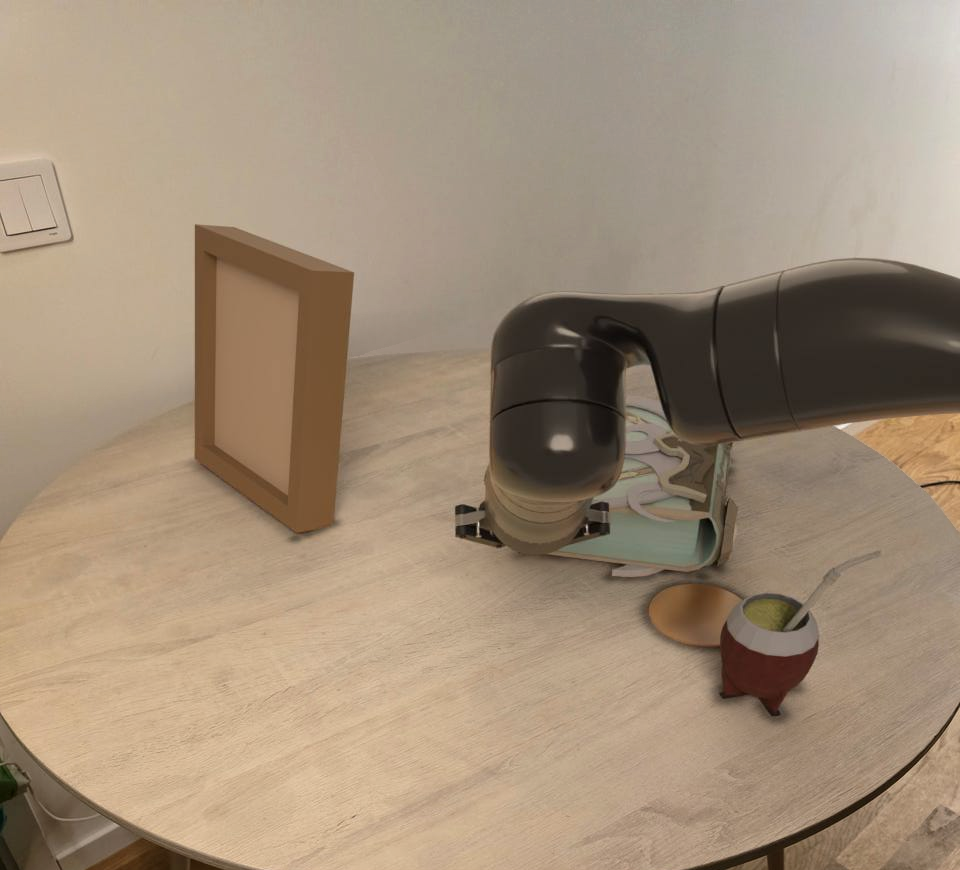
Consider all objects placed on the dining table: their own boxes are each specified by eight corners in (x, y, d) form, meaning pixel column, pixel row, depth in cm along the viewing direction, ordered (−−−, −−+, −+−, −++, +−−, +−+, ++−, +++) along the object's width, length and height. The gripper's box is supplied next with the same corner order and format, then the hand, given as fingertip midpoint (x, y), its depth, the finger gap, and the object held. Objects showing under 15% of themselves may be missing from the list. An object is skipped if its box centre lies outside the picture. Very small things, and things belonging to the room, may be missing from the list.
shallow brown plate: (739, 588, 82) (740, 582, 82) (764, 649, 75) (765, 644, 75) (641, 589, 82) (641, 584, 82) (657, 651, 75) (657, 646, 75)
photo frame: (297, 541, 90) (254, 284, 74) (196, 466, 103) (141, 234, 87) (414, 492, 97) (397, 249, 81) (306, 428, 110) (274, 208, 94)
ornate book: (726, 606, 81) (739, 449, 103) (744, 516, 75) (753, 369, 97) (486, 574, 86) (547, 430, 108) (484, 487, 80) (549, 353, 102)
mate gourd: (697, 672, 73) (725, 512, 63) (785, 656, 74) (826, 497, 65) (738, 734, 67) (775, 569, 58) (833, 717, 68) (885, 552, 59)
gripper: (445, 544, 62) (453, 587, 79) (635, 540, 62) (602, 584, 79) (443, 440, 63) (452, 504, 80) (631, 436, 63) (599, 501, 80)
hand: (527, 544), depth 80 cm, fingers closed
